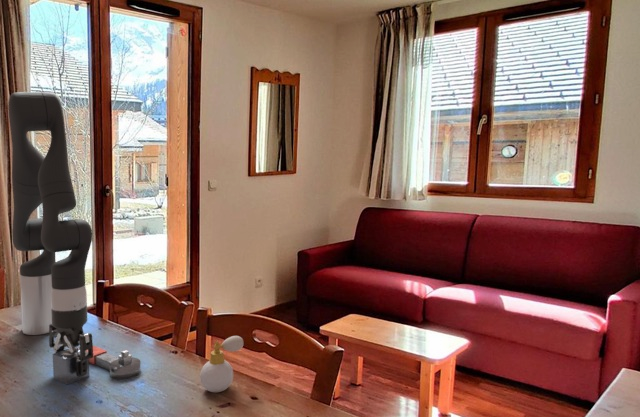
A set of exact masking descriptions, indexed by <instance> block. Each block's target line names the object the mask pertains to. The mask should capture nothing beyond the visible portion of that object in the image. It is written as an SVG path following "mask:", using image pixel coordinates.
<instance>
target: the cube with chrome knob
mask: <svg viewBox="0 0 640 417" xmlns="http://www.w3.org/2000/svg"><path fill="white" fill-rule="evenodd" d="M75 348H78V347H75ZM78 353H79V355H80V351H79V352H78ZM87 353H88V352H87ZM52 363H53V364H52V369H53V370H52V371H53V372H52V373H53V376H52V377H53V379H54V380H56V381H58V382H61V383H62V384H64V385H67V386H68V385H70V384H72V383H75V382H78V381H81V380H83V379H87V378H88V377H90V363H89V359H88V360H87V374H86V375H84V376H81V377H78V376H77V375H76V358H75V356H74V354H72V353H71V352H70V349H69V348H67V349H64V350H63V351H60V352H57V353H56V352H54V353H52Z"/></svg>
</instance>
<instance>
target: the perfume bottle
mask: <svg viewBox="0 0 640 417" xmlns="http://www.w3.org/2000/svg"><path fill="white" fill-rule="evenodd" d="M243 346H244V339H243V337H241V336H239V335H232V336H229V337H228V338H225V340H223V342H222V343H220V342H219V341H218V340H216V341H215V344H214V346H213V349H214V350H211V352H210V358H209V360H207V361H206V363H204V365H203V366H202V367H201V370H200V375H199V378H200V383H201V385H202V387H203V388H204V389H205V390H206V391H207V392H211V393H220V392H224V391H225V390H227V389H228V388H229V387H230V386H231V384H232V383H233V381H234V380H233V379H234V369H233V367H232V365H231V364H230V362H228V361H227V360H225V358H224V351H227V352H238V351H240V350H241V349H242V348H243ZM220 348H221V349H223V350H224V351H223V350H221V349H220Z"/></svg>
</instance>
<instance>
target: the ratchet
mask: <svg viewBox="0 0 640 417" xmlns="http://www.w3.org/2000/svg"><path fill="white" fill-rule="evenodd" d="M87 352H88V350H87ZM120 353H121V354H120V355H119V354H118V356H115V355H114V354H110V353H108V350H106V349H103V348H101V347H98V346H95V345H93V358H91V359H89V364H91V365H93V366H98V367H100V368H103V369H106V370H108V371H109V377H110V378H112V379H114V380H128V379H132V378H135V377H137V376H139V375H140V374H141V369H142V368H141V359H139V358H138V357H133V355H132V354H130V352H129V350H126V349H124V350H121V352H120Z"/></svg>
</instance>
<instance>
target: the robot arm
mask: <svg viewBox="0 0 640 417" xmlns="http://www.w3.org/2000/svg"><path fill="white" fill-rule="evenodd" d="M7 110H8V120H9V128H10V138H11V149H12V153H11V154H12V155H11V156H12V157H11V161H12V162H11V181H12V182H11V184H12V198H13V216H12V229H11V230H12V234H11V235H12V243H13V247H14V248H15V249H16V250H17V251H20V252H33V251H35V252H36V251H42V252H41V253H40V254H39V255H38V256H37V257H36V256H35V257H34V258H33V259H30V260H27V261H25V262H23V263H21V265H20V266H19V278H20V280H19V281H20V284H19V285H20V311H21V329H22V333H23V334H25V335H29V336H38V335H45V334H48V346H49V348H53V350H52V351H53V352H54V353H57V352H60V351H63V350H66V348H67V349H70V352H71V353H72V354H74V356H75V358H76V375H77V376H78V377H81V376H84V375H86V374H87V360H88V359H91V358H93V346H94V344H93V335H92V333H91V332H88V333H85V332H84V329H83V327H84V326H85V325H86V324H87V322H88V295H87V289H86V288H87V287H86V264H87V260H88V257H89V256H88V255H89V252H90V248H91V245H92V241H93V229H92V226H91V225H90V224H89V222H88V221H86V219H83V218H82V219H80V218H79V219H78V218H77V219H76V218H75V219H66V220H65V219H64V220H60V219H59V215H62V214H64V213H68V212H70V211H72V210H74V209H75V208H76V206H77V200H76V195H75V190H74V185H73V182H72V178H71V174H70V167H69V165H70V164H69V157H68V145H67V136H66V134H67V133H66V127H65V116H64V111H63V106H62V102H61V100H60V98H59V96H58V95H57V94H56V93H55V92H51V91H49V92H48V91H18V92H16V91H15V92H13V93H11V94H10V96H9V98H8V109H7ZM44 131H45V132H46V131H49V132H50V137H51V138H50V144H49V145H50V146H49V148H48V150H47V153H46V155H45V156H44V155H43V154H42V153H41V152H40V151H39V150H38V149H37V148H36V147H35V146H34V144H33V143H32V142H31V140H30V139H29V137H28V134H27V133H28V132H44ZM40 205H42V217H41V218H30V217H31V215H32V214H33V212H35V210H36V209H38V207H40ZM67 251H70V252H69V254H68V256H67V257H64V258H63V259H60V260H58V261H56V253H61V252H67ZM55 338H56V339H55ZM75 347H77V348H75ZM87 350H88V353H87ZM79 351H80V355H79V353H78V352H79Z"/></svg>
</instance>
